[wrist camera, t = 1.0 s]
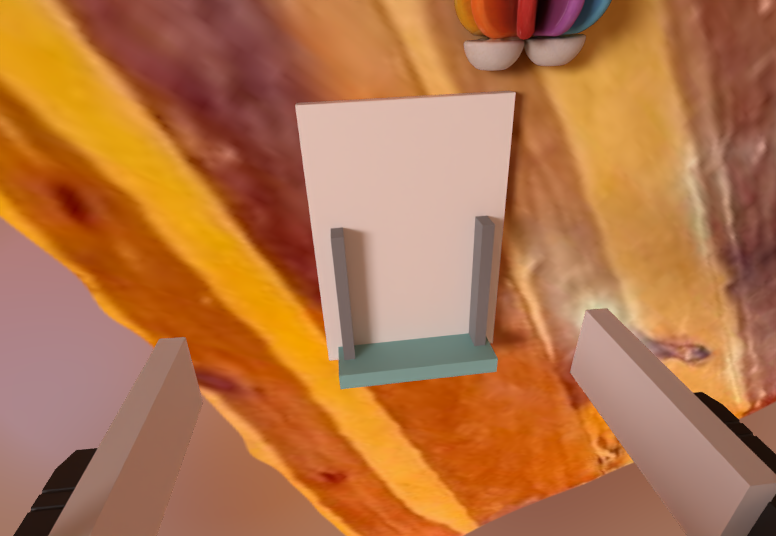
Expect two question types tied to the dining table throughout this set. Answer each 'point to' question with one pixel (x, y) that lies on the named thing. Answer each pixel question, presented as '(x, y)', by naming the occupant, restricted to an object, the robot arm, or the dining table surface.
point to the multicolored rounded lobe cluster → (526, 30)
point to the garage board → (408, 230)
